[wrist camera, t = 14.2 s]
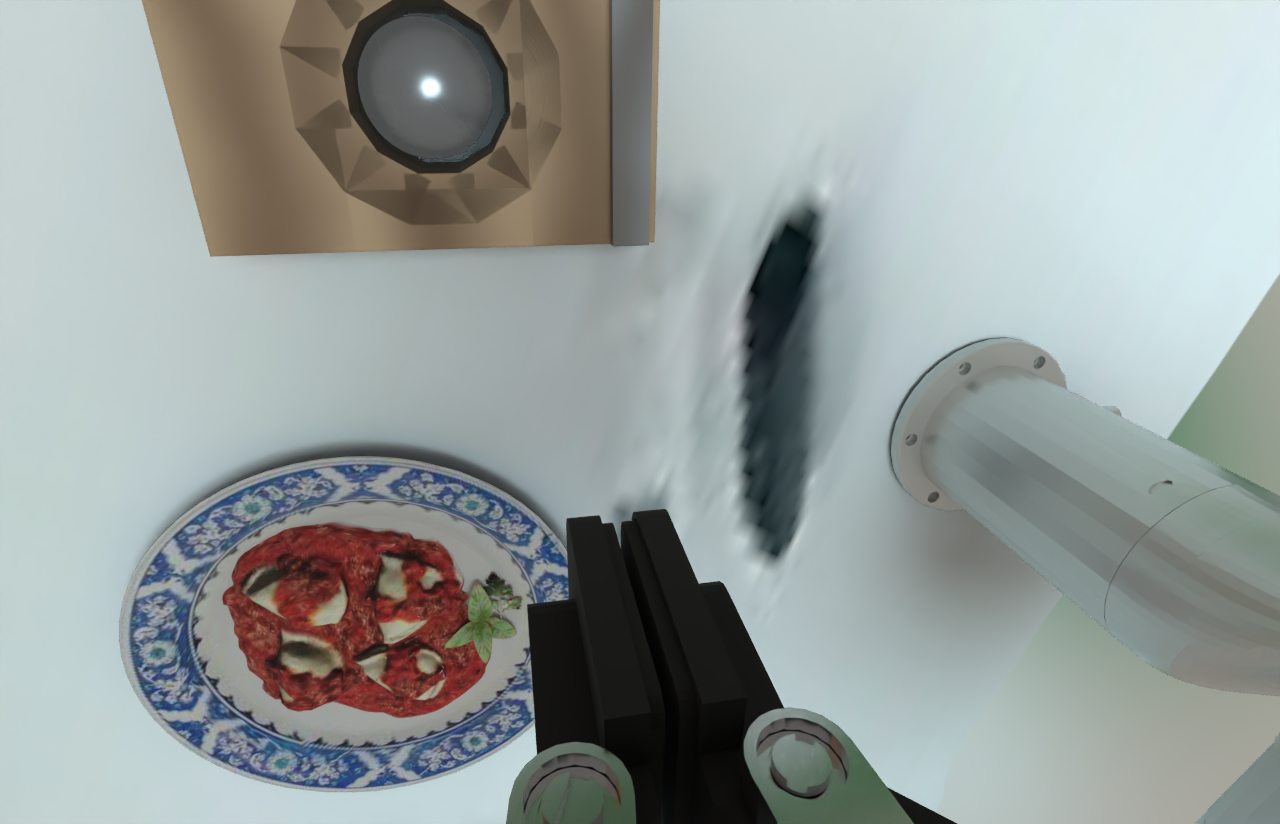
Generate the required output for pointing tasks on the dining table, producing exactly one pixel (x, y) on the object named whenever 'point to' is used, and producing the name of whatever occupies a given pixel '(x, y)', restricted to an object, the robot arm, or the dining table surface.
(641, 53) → the block
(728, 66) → the dining table surface
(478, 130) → the grey cylinder
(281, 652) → the ceramic plate
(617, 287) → the dining table surface
